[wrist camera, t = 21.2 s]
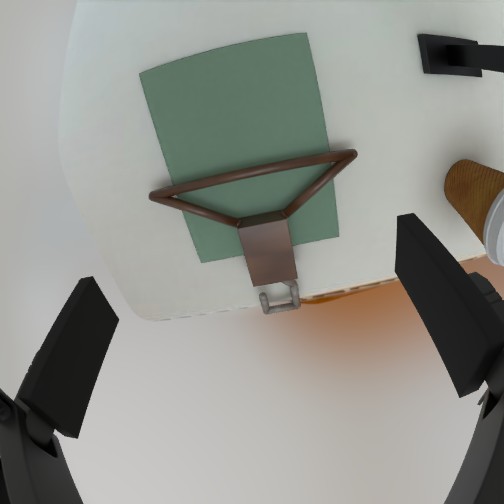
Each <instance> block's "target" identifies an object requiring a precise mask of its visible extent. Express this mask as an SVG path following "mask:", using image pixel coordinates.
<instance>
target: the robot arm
mask: <svg viewBox="0 0 504 504" xmlns="http://www.w3.org/2000/svg"><path fill="white" fill-rule="evenodd" d="M395 273H396V274H397V276H398V278H399V279H400V281H401V283H402V285H403V286H404V288H405V290H406V291H407V293H408V295H409V297H410V298H411V300H412V302H413V304H414V306H415V307H416V309H417V311H418V313H419V315H420V317H421V319H422V320H423V322H424V324H425V326H426V328H427V330H428V332H429V334H430V336H431V338H432V340H433V342H434V343H435V346H436V348H437V350H438V352H439V354H440V356H441V358H442V360H443V362H444V364H445V366H446V368H447V370H448V373H449V375H450V377H451V379H452V382H453V384H454V386H455V388H456V391H457V393H458V395H459V398H461V397H463V396H466V395H468V394H470V393H472V392H474V391H477V390H479V388H480V386H481V385H482V383H483V382H484V380H485V381H486V383H487V385H488V389H487V390H486V392H485V393H484V395H483V396H482V397H481V399H480V400H479V403H478V405H480V404H481V403H482V402H483V405H482V409H481V412H480V415H479V419H478V422H477V425H476V428H475V431H474V434H473V437H472V440H471V443H470V446H469V448H468V451H467V454H466V456H465V459H464V461H463V464H462V466H461V468H460V471H459V473H458V475H457V478H456V480H455V482H454V484H453V486H452V489H451V491H450V493H449V495H448V497H447V499H446V501H445V503H444V504H504V300H502V297H501V296H500V295H499V293H498V292H496V290H495V288H494V287H493V286H492V284H491V283H490V282H489V281H488V279H486V278H485V277H483V276H481V275H480V274H478V273H477V272H474V273H470V274H467V273H466V272H465V270H464V269H463V268H462V267H461V266H460V264H459V263H458V262H457V261H456V259H455V258H454V257H453V256H452V255H451V254H450V252H449V251H448V250H447V249H446V248H445V247H444V245H443V244H442V243H441V242H440V241H439V240H438V239H437V238H436V236H435V235H434V234H433V233H432V232H431V231H430V230H429V229H428V228H427V227H426V225H425V224H424V223H423V222H422V221H421V220H420V219H419V218H418V217H417V216H416V215H415V214H414V213H411V214H405V215H400V216H397V241H396V260H395ZM118 322H119V318H118V317H117V316H116V314H115V312H114V311H113V309H112V307H111V306H110V304H109V303H108V301H107V299H106V298H105V296H104V294H103V293H102V291H101V290H100V288H99V286H98V284H97V283H96V281H95V279H94V278H93V276H91V277H86V278H81V279H80V280H79V282H78V284H77V285H76V287H75V288H74V290H73V292H72V293H71V295H70V297H69V298H68V300H67V302H66V303H65V305H64V307H63V308H62V310H61V312H60V313H59V315H58V317H57V319H56V321H55V322H54V324H53V326H52V328H51V330H50V331H49V333H48V335H47V337H46V339H45V341H44V342H43V344H42V346H41V348H40V350H39V351H38V352H37V353H36V355H35V357H34V359H33V361H32V365H30V367H29V369H28V373H26V375H25V378H24V380H23V382H22V384H21V386H20V388H19V391H18V393H17V395H16V397H15V399H14V401H13V400H12V399H11V398H10V397H9V396H8V395H6V394H5V393H4V392H3V391H2V390H1V389H0V504H83V502H82V499H81V497H80V495H79V493H78V490H77V488H76V486H75V484H74V481H73V479H72V476H71V474H70V471H69V468H68V466H67V463H66V460H65V458H64V455H63V452H62V449H61V446H60V443H59V440H58V438H57V437H56V436H55V435H54V434H53V432H54V429H56V430H57V431H58V432H60V433H61V434H62V435H64V436H67V437H71V438H76V439H77V438H78V436H79V433H80V429H81V426H82V423H83V419H84V416H85V413H86V410H87V407H88V403H89V400H90V397H91V394H92V391H93V389H94V385H95V383H96V380H97V377H98V374H99V371H100V369H101V366H102V363H103V360H104V358H105V355H106V352H107V350H108V347H109V344H110V342H111V339H112V337H113V334H114V332H115V329H116V327H117V324H118Z"/></svg>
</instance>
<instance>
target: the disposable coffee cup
mask: <svg viewBox="0 0 504 504" xmlns="http://www.w3.org/2000/svg"><path fill="white" fill-rule="evenodd" d="M445 195H446V198H447V200H448V201H449V202H450V203H451V205H452V206H453V207H454V208H455V209H456V211H457V212H458V213H459V214H460V215H461V217H462V218H463V219H464V220H465V222H466V223H467V224H468V225H469V227H470V228H471V229H472V230H473V232H474V233H475V234H476V236H477V237H478V238H479V240H480V241H481V242H482V244H483V245H484V247H485V249H486V253H487V256H488V257H489V258H490V260H491V261H492V262H493V263H495V264H497V265H502V266H503V267H504V173H503V172H500V171H498V170H495V169H492V168H490V167H487V166H484V165H482V164H479V163H476V162H473V161H471V160H461V161H459V162H457V163H456V164H455V165H453V167H452V168H451V169H450V171H449V172H448V175H447V177H446V180H445Z"/></svg>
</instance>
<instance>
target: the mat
mask: <svg viewBox="0 0 504 504" xmlns="http://www.w3.org/2000/svg"><path fill="white" fill-rule="evenodd" d="M139 76H140V79H141V83H142V86H143V90H144V93H145V97H146V100H147V104H148V107H149V110H150V114H151V117H152V120H153V123H154V127H155V130H156V133H157V136H158V140H159V143H160V146H161V149H162V152H163V155H164V158H165V161H166V164H167V167H168V170H169V173H170V176H171V179H172V182H173V185H177V184H181V183H185V182H189V181H193V180H196V179H200V178H204V177H209V176H213V175H217V174H221V173H225V172H230V171H234V170H239V169H243V168H248V167H253V166H257V165H262V164H267V163H272V162H277V161H282V160H288V159H293V158H298V157H304V156H310V155H316V154H322V153H328V152H329V146H328V139H327V133H326V127H325V121H324V115H323V109H322V103H321V98H320V93H319V88H318V82H317V77H316V73H315V68H314V63H313V59H312V54H311V50H310V45H309V41H308V37H307V33H300V34H292V35H285V36H278V37H272V38H266V39H260V40H255V41H250V42H245V43H240V44H236V45H231V46H227V47H223V48H219V49H215V50H211V51H207V52H203V53H200V54H196V55H193V56H189V57H186V58H183V59H180V60H177V61H173V62H170V63H167V64H164V65H162V66H159V67H156V68H153V69H150V70H148V71H145V72H142V73H140V74H139ZM330 167H331V163H325V164H319V165H313V166H308V167H302V168H296V169H291V170H286V171H281V172H276V173H270V174H266V175H261V176H256V177H251V178H246V179H242V180H237V181H233V182H228V183H224V184H220V185H215V186H211V187H207V188H203V189H198V190H194V191H190V192H186V193H182V194H179V195H177V197H178V199H181V200H184V201H187V202H190V203H193V204H196V205H199V206H202V207H205V208H208V209H211V210H214V211H217V212H220V213H223V214H226V215H229V216H232V217H235V218H242V217H247V216H252V215H257V214H262V213H267V212H272V211H277V210H282V209H284V208H285V207H286V206H287V205H288V204H290V203H291V202H292V201H293V200H294V199H295V198H296V197H297V196H298V195H300V194H301V193H302V192H303V191H304V190H305V189H306V188H307V187H308V186H310V185H311V184H312V183H313V182H314V181H315V180H316V179H317V178H318V177H320V176H321V175H322V174H323V173H324V172H325V171H326V170H327V169H328V168H330ZM183 214H184V217H185V220H186V223H187V226H188V228H189V231H190V234H191V237H192V239H193V242H194V245H195V247H196V250H197V253H198V256H199V258H200V261H201V263H204V262H210V261H215V260H220V259H225V258H230V257H236V256H241V255H244V252H243V248H242V245H241V241H240V238H239V234H238V231H237V228H234V227H231V226H228V225H225V224H222V223H219V222H216V221H213V220H210V219H207V218H204V217H201V216H198V215H195V214H191V213H188V212H185V211H183ZM287 221H288V227H289V232H290V237H291V243H292V246H293V245H298V244H303V243H308V242H313V241H319V240H324V239H329V238H334V237H339V231H338V220H337V210H336V200H335V191H334V183H333V179H332V180H331V181H329V182H328V183H327V184H326V185H325V186H324V187H323V188H322V189H320V190H319V191H318V192H317V193H316V194H315V195H314V196H313V197H311V198H310V199H309V200H308V201H307V202H306V203H305V204H304V205H302V206H301V207H300V208H299V209H298V210H297V211H296V212H295V213H293V214H292V215H291V216H290V217H289V218H287Z"/></svg>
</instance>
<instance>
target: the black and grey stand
mask: <svg viewBox="0 0 504 504" xmlns="http://www.w3.org/2000/svg"><path fill="white" fill-rule="evenodd" d="M418 40H419V46H420V51H421V57H422V63H423V70H424V73H426V74H447V75H462V76H474V77H482V70H481V69H484V70H491V71H497V72H503V73H504V46H496V45H478V42H477V41H473V40H467V39H461V38H454V37H447V36H438V35H429V34H419V35H418Z"/></svg>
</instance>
